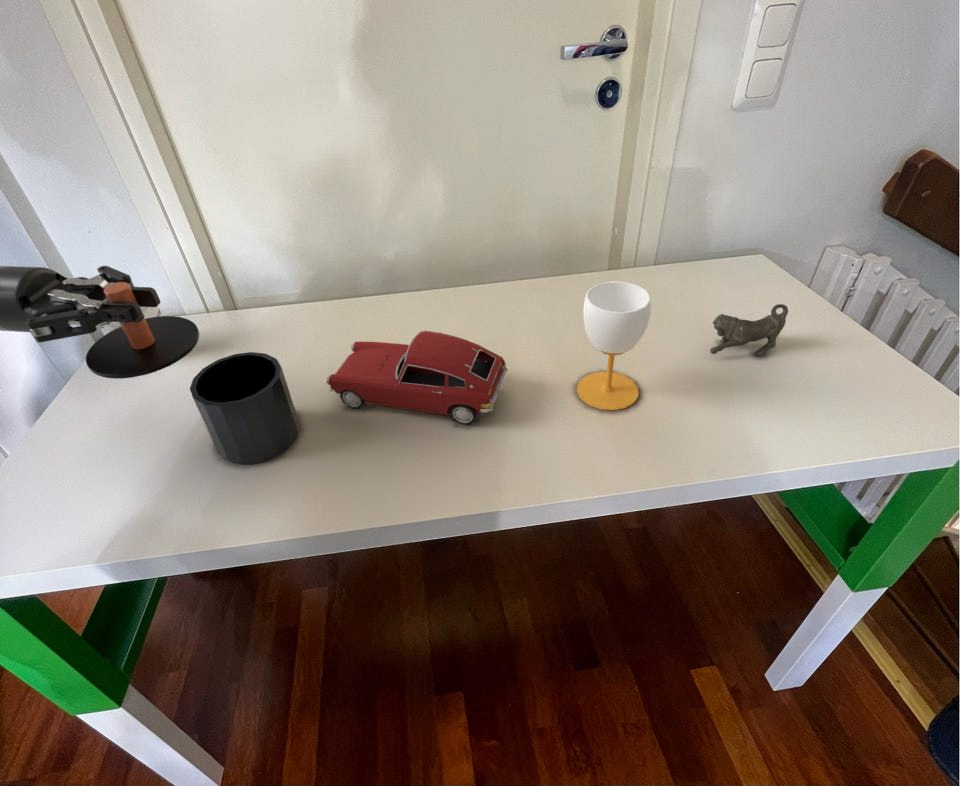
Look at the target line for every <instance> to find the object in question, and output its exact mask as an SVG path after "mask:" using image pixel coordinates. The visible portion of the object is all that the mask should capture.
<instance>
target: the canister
mask: <svg viewBox="0 0 960 786" xmlns="http://www.w3.org/2000/svg"><path fill="white" fill-rule="evenodd" d="M282 367H283V366H282V365H281V364H280V362H279V361H278V359H277V358H275V357H273V356H272V355H270V354H267V353H263V352H255V351H248V352H239V353H233V354H231V355H227V356H225V357H224V356H223V357H222V358H219V359H217V360H215V361H213V362H212V363H209V364H208V365H206V366H205V367H203V368H202V369H201V370H200V371H199V372H198V373H197V374H196V375H195V376H194V377H193V378H192V381H191V384H190V387H189V391H190V393H191V397H192V399H193V401H194V403H195V406H196V408H197V410H198V412H199V415H200V417H201V419H202V421H203V423H204V425H205V427H206V429H207V432H208V434H209V436H210V439H211V441H212V443H213V445H214V447H215V449H216V452H217V454H218V455H219V456H220V458H222V459H223V460H224V461H226V462H228V463H230V464H234V465H239V466H240V465H242V466H243V465H244V466H248V465H249V466H250V465H255V464H261V463H264V462H267V461H270V460H273V459H275V458H276V457H279V456H280V455H282V454H283V453H285V452H286V451H287V450H288V449H290V448H291V446H293V444H294V443H295V442H296V440H297V438H298V436H299V434H300V421H299V417H298V414H297V411H296V408H295V405H294V401H293V399H292V396H291V393H290V390H289V386H288V383H287V380H286V377H285V373H284V370H283V368H282Z"/></svg>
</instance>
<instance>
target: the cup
mask: <svg viewBox="0 0 960 786" xmlns="http://www.w3.org/2000/svg"><path fill="white" fill-rule="evenodd" d="M582 311H583V312H582V313H583V325H584V329H585V330H584V331H585V333H586V336H587V337H588V339H589V341H590V343H591V345H592V346H593V347H594V348H595V349H596V350H598V351H599V352H601V353H602V354H604V355H608V358H607V367H606V371H598V372H591V373H590V374H588V375H586V376H584V377H582V378H581V380H580V381H579V382H578V383H577V390H576V392H577V395H578V396H579V398H580V400H581V401H582V402H584V403H585V404H586V405H588V406H590V407H592V408H595V409H598V410H601V411H613V412H614V411H619V410H625V409H626V408H628V407H630V406H632V405H634V404H635V403H636V402H637V400H638V398H639V394H640V393H639V387H638V386H637V384H636V383H635V381H634V380H632V379H630V378H629V377H627V376H626V375H623V374H620V373H618V372H614V366H615V365H614V362H615V356H621V355H623V354H625V353H628V352H630V351H631V350H633V349H634V348H635V347H636V345H637V344H638V343H639V342H640V340H641V339H642V338H643V336H644V335H645V332H646V330H647V328H648V327H649V322H650V318H651V313H652V312H651V294H649V293H648V291H647V290H646V289H645V288H644V287H641V286H639V285H637V284H635V283H631V282H626V281H614V280H613V281H612V280H611V281H605V282H601V283H598V284H596V285H593V286H591V287H590V288H589V289H588V290H587V291H586V294H585V298H584V302H583V310H582Z"/></svg>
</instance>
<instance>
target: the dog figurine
mask: <svg viewBox="0 0 960 786" xmlns="http://www.w3.org/2000/svg"><path fill="white" fill-rule="evenodd" d="M778 309H782V311H781V313H777V310H778ZM788 313H789V307H788V305H785V304H781V303H779V304H775V305H774V306H773V307H772V309H771V311H770V314H768V315H766V316H764V317H762V318H761V319H755V320H748V319H743V318H739V317H737V316H736V317H735V316H731V315H727V314H724V313H721V314H719V315H717V316H716V317H715V318H714V320H713V321H712V324H713V328H714V329H715V330H716V331H717V332H716V334H717V336H718V337H721V340H720V341H719V344H718V345H716V346H712V347H711V348H710V349H709V351H710V354H711V355H716V354H718V353H719V352H723V350H724V349H727V348H731V347H739V346H744V345H747V344H748V343H752V342H757V341H760V340H763V339H766V340H767V342H766V343H765V344H764V345H763V346H761V347H760V348H758V349H757V350H756V351H755V352H754V354H755V355H756V356H757V357H762V356H763V354H766V353H767V352H768V351H770V350H771V349H774V348H775V347H776V346H777V339H778V337H779V335H780V334H781V332H782V330H783V329H784V328H785V325H786V322H787V321H786V320H787V319H786V318H787V316H788Z"/></svg>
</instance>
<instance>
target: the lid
mask: <svg viewBox="0 0 960 786" xmlns="http://www.w3.org/2000/svg"><path fill="white" fill-rule="evenodd" d="M104 293H105V295H106V297H107V299H108V301H123V302H136V303H137V300H136V298H135V296H134V294H133V292H132V290H131V288H130V285H129V284H128V283H126V282H118V283H114V284H111V285H109V286H107V287H106V288H105V289H104ZM137 304H138V303H137ZM119 323H120V325H121V327H119V328H117V329H115V330H113V331H111V332H109V333H108V334H106V335H104V334H103V336H102V337H100V338H98V340H96V341H95V342H94V343H93V345H91V347H90V348H89V349H88V350H87V353H86V356H85V364H86V366H87V368H88V370H89V371H90V372H91V373H93V374H94V375H96V376H99V377H102V378H104V379H105V378H106V379H115V380H116V379H117V380H118V379H120V380H121V379H122V380H123V379H130V378H131V379H132V378H137V377H141V376H147V375H150V374H153V373H157V372H158V371H161V370H164V369H166V368H168V367H170V366H172V365H174V364H176V363H178V362H179V361H180V360H182V359H183V358H185V357H186V356H187V355H189V354H190V353H191V352H192V350H194V349H195V347H196V346H197V344H198V343H199V340H200V330H199V328H198V326H197V324H196V323H195V322H194V321H192V320H190V319H188V318H186V317H182V316H174V315H163V316H160V317H152V318H147V319H145V318H144V319H143V320H142V321H140V322H119Z"/></svg>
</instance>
